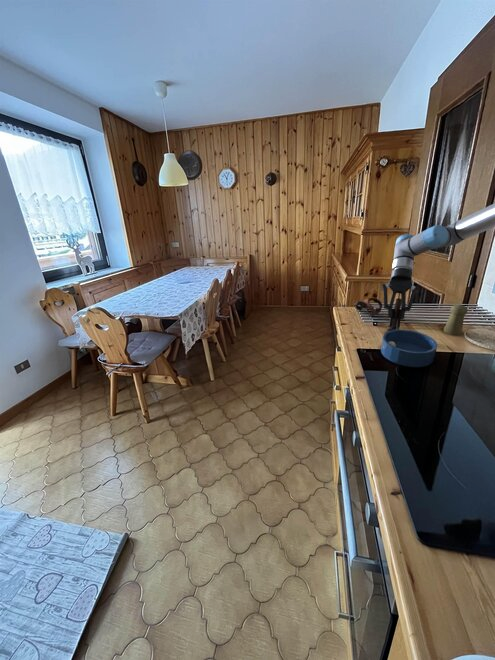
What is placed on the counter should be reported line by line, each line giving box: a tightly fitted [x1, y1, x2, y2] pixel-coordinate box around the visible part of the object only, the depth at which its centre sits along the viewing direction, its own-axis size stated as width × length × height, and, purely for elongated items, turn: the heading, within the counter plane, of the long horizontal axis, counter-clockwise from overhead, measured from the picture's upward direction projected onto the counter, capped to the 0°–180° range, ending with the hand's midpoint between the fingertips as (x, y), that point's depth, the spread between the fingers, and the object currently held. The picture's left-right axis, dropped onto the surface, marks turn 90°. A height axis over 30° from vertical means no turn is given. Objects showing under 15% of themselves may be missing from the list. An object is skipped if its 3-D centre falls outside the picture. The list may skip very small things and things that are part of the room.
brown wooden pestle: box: [385, 297, 402, 333], centre depth 110 cm, size 4×4×15 cm
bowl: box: [380, 329, 439, 368], centre depth 99 cm, size 17×17×6 cm
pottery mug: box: [354, 297, 383, 317], centre depth 132 cm, size 12×10×8 cm
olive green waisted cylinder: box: [443, 304, 468, 336], centre depth 110 cm, size 6×6×11 cm
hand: (394, 325), depth 108 cm, fingers closed on brown wooden pestle, 2 cm apart
